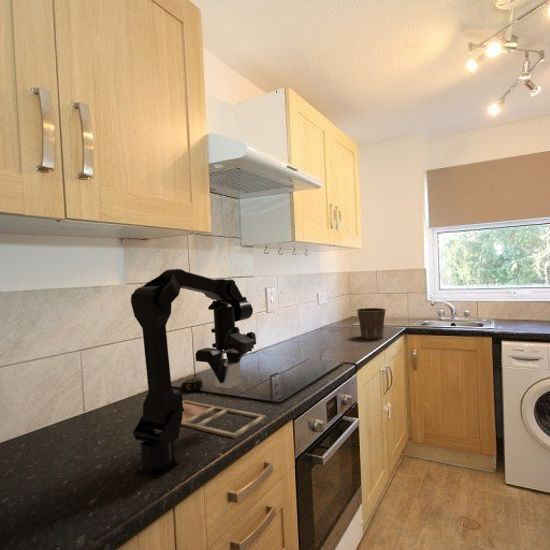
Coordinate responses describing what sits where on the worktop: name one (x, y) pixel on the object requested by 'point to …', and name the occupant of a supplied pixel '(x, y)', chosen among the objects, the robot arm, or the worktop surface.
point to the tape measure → (192, 384)
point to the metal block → (230, 375)
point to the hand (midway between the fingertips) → (227, 380)
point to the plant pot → (371, 322)
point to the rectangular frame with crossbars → (213, 417)
